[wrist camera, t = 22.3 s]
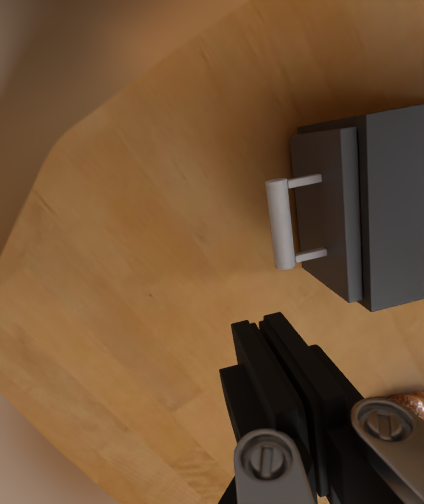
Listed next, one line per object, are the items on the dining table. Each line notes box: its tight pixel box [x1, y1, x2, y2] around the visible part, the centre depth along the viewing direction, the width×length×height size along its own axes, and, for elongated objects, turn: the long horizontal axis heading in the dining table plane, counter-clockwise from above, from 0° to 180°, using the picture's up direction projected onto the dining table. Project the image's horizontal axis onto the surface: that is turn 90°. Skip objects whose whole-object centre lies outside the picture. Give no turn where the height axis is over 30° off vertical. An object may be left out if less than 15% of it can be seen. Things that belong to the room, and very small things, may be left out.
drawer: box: [265, 126, 363, 303], centre depth 28 cm, size 19×13×8 cm, turn 100°
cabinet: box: [297, 104, 424, 312], centre depth 28 cm, size 16×14×10 cm
